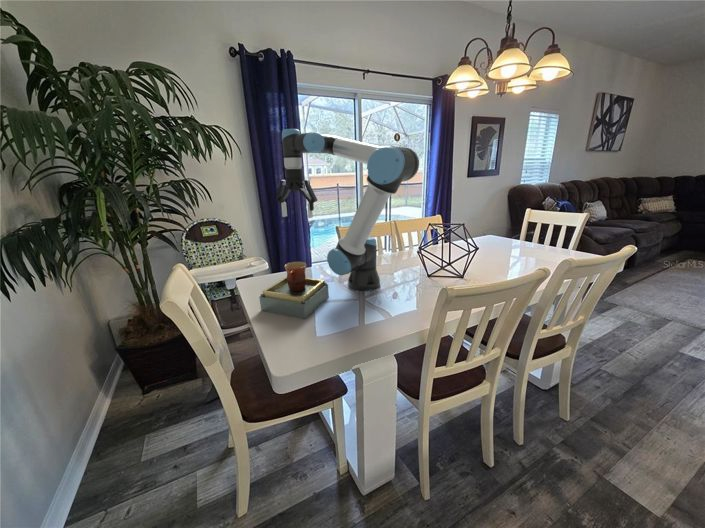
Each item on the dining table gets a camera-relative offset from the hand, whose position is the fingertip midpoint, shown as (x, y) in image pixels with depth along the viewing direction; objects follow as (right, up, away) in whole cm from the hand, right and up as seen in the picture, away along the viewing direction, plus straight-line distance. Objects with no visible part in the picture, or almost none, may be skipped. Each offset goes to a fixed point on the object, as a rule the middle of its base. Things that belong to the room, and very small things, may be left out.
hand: (297, 217), depth 131 cm
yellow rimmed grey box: (+1, -39, -12) cm, 40 cm away
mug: (+2, -32, -14) cm, 35 cm away
